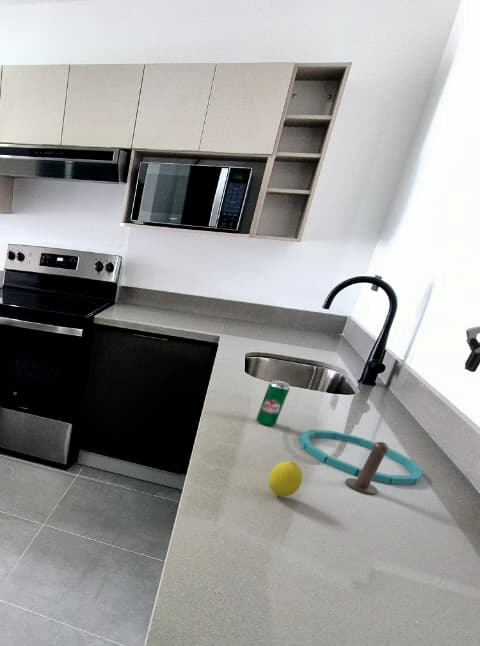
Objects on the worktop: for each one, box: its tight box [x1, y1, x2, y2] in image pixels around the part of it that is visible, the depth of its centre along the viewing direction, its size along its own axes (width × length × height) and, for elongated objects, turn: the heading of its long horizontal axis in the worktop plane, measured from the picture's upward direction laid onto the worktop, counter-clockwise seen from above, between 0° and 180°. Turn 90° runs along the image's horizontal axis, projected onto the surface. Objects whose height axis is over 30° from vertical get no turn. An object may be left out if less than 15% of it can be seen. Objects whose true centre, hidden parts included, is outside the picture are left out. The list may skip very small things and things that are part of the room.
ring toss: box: [344, 441, 390, 496], centre depth 107 cm, size 6×6×11 cm
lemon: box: [268, 460, 303, 498], centre depth 99 cm, size 6×6×8 cm
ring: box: [298, 429, 424, 486], centre depth 124 cm, size 26×26×2 cm
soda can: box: [255, 379, 290, 427], centre depth 137 cm, size 5×5×12 cm
